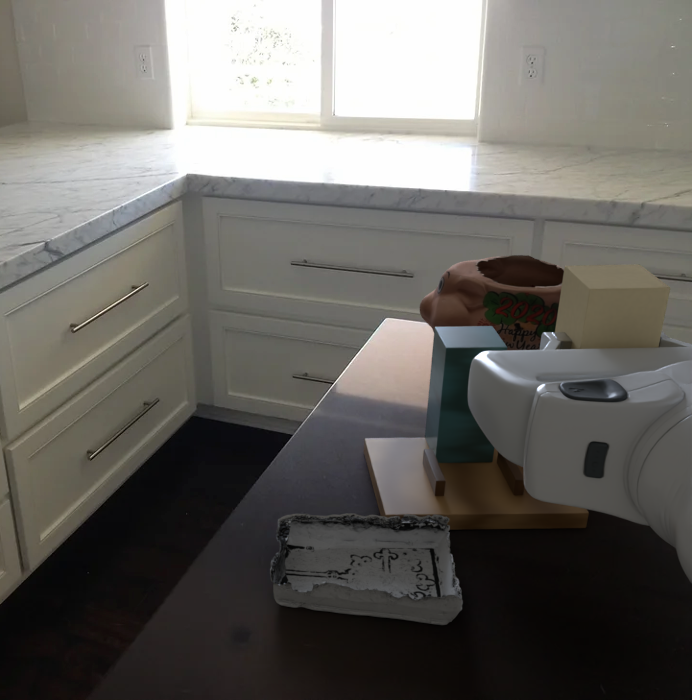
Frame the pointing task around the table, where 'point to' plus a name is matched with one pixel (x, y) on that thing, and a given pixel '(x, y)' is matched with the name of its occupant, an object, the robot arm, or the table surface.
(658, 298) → the beige rectangular block
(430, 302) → the brown sculpted mug
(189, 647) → the table surface
